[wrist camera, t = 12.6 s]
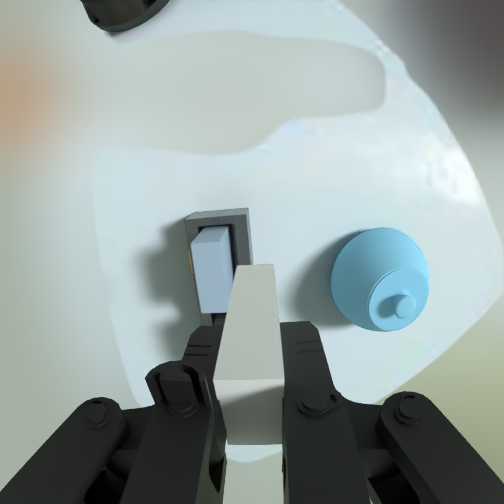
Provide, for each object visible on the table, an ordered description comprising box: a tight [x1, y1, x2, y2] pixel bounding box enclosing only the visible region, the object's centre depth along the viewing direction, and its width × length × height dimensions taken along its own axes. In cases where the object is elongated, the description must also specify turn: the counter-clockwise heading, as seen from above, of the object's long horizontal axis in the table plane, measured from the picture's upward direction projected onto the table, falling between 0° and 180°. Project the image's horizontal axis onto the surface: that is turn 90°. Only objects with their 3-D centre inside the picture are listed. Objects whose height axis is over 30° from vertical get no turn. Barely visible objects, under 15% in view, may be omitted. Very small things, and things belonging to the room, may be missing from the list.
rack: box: [185, 208, 253, 326], centre depth 36 cm, size 23×8×11 cm, turn 5°
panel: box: [191, 224, 236, 313], centre depth 34 cm, size 8×3×10 cm, turn 4°
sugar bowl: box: [330, 227, 429, 332], centre depth 35 cm, size 15×15×12 cm
